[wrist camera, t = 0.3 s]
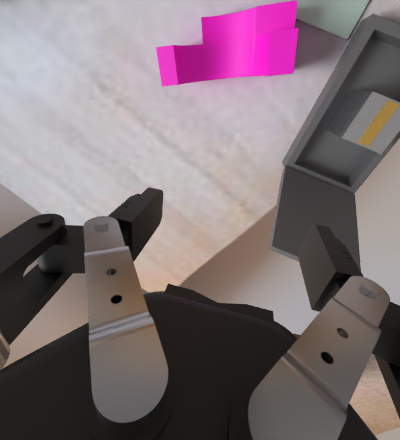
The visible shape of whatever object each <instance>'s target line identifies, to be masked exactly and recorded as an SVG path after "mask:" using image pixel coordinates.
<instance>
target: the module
mask: <svg viewBox="0 0 400 440" xmlns="http://www.w3.org/2000/svg"><path fill="white" fill-rule="evenodd" d="M326 130H328V131H330V132H332V133H334V134H335V135H337V136H339V137H341V138H343V139H346V140H348V141H350V142H353V143H355V144H358V145H360V146H362V147H365V148H367V149H370V150H372V151H375V152H377V153H379V154H382V152H383V151H384V150H385V149H386V147H387V146H388V145H389V144H390V142H391V141H392V140H393V139H394V137H395V136H396V135H397V134H398V133H399V131H400V102H398V101H395V100H393V99H390V98H388V97H385V96H383V95H381V94H378V93H376V92H373V91H349V92H348V93H347V95H346V97H345V98H344V100H343V101H342V103H341V105H340V106H339V108H338V109H337V111H336V113H335V114H334V116H333V117H332V119H331V121H330V122H329V124H328V125H327V127H326Z"/></svg>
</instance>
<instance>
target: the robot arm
mask: <svg viewBox="0 0 400 440" xmlns="http://www.w3.org/2000/svg"><path fill="white" fill-rule="evenodd" d="M162 206H163V191H162V190H159V189H154V188H150V187H149V188H147V189H146V190H145V191H144V192H143V193H142V194H136V195H134V196H131V197H129V198H128V199H127V200H126V201H125V202H124V203H122V204H121V206H119V207H118V208H117V209H116V210H114V211H113V212H112V213H111V214H110V215H109V216H108V217H107V216H100V217H95V218H92V219H90V220H88V221H87V222H85V224H84V226H72V225H65V220H64V218H63V217H62V216H60V215H57V214H43V215H38V216H35V217H33V218H31V219H29V220H28V221H26V222H24V223H23V224H21V225H20V226H18V227H17V228H15V229H14V230H12V231H10V232H9V233H7V234H6V235H4V236H3V237H1V238H0V440H377V438H376V437H375V436H374V434H373V433H372V432H371V430H370V429H369V428H368V427H367V425H366V424H365V423H364V422H363V420H362V419H361V418H360V416H359V415H358V414H357V413H356V411H355V410H354V409H353V408H352V406H351V405H350V404H349V402H350V400H351V397H352V395H353V393H354V391H355V389H356V386H357V384H358V382H359V380H360V378H361V375H362V373H363V371H364V369H365V367H366V364H367V362H368V360H369V358H370V356H371V353H372V354H374V355H375V357H376V360H377V362H378V365H379V367H380V370H381V373H382V375H383V378H384V380H385V383H386V385H387V388H388V390H389V393H390V395H391V398H392V400H393V403H394V406H395V408H396V411H397V413H398V416H399V418H400V306H399V305H397V304H394V303H392V302H390V297H389V295H388V294H387V292H386V291H385V290H384V289H383V288H382V287H381V286H379V285H378V284H377V283H375V282H373V281H372V280H369V279H367V278H365V277H363V275H362V273H361V271H360V270H359V268H358V266H357V264H356V263H355V261H354V260H353V257H352V256H351V254H350V252H349V251H348V249H347V247H346V246H345V245H344V244H343V243H342V242H341V241H340V240H339V239H338V238H335V236H334V234H333V233H332V231H331V229H330V227H327V226H323V225H318V224H312V225H311V226H310V228H309V230H308V232H307V234H306V236H305V238H304V240H303V242H302V244H301V246H300V249H299V254H298V258H299V262H300V266H301V270H302V274H303V278H304V281H305V286H306V289H307V293H308V297H309V301H310V305H311V308H312V310H316V311H320V313H319V314H318V315H317V316H316V318H315V319H314V320H313V321H312V323H311V324H310V325H309V326H308V327H307V329H306V330H305V331H304V332H303V333H302V335H301V336H300V337H299V338H298V339H297V338H296V337H295V336H294V335H293V334H292V333H291V332H290V331H289V330H287V329H286V328H285V327H283V326H282V325H280V324H279V323H277V322H275V321H274V319H273V311H270V310H266V309H262V308H258V307H254V306H251V305H247V304H227V303H217V302H215V301H213V300H211V299H209V298H207V297H205V296H203V295H201V294H199V293H197V292H195V291H193V290H190V289H186V288H182V287H179V286H175V285H171V284H168V285H167V288H166V290H165V291H159V292H151V293H146V294H143V292H142V289H141V286H140V283H139V279H138V276H137V273H136V270H135V266H134V263H133V262H134V261H135V259H136V258H137V256H138V255H139V253H140V252H141V251H142V249H143V248H144V246H145V245H146V243H147V242H148V240H149V239H150V238H151V236H152V235H153V233H154V232H155V230H156V229H157V227H158V226H159V224H160V222H161V218H162ZM35 260H37V263H38V264H37V265H36V266H35V267H34V268H33V269H31V270H30V271H29V272H28V273H27V274H26V275H25V276H24V277H23V274H24V272H25V270H26V268H27V267H28V266H29V265H30V264H31V263H33V262H34V261H35ZM73 273H85V275H86V289H87V305H88V319H89V322H88V323H87V324H85V325H83V326H81V327H79V328H77V329H75V330H73V331H72V332H70V333H68V334H66V335H64V336H62V337H60V338H58V339H57V340H55V341H53V342H51V343H49V344H47V345H45V346H43V347H42V348H40V349H38V350H36V351H34V352H33V353H30V354H29V355H27V356H25V357H23V358H21V359H19V360H17V361H15V362H14V363H12V364H10V365H8V366H7V367H5V368H3V366H4V365H5V363H6V362H7V359H8V358H9V355H10V346H9V345H10V344H11V343H12V342H13V341H14V340H15V338H16V337H17V336H18V335H19V334H20V333H21V332H22V331H23V329H24V328H25V327H26V326H27V325H28V324H29V322H30V321H31V320H32V319H33V318H34V317H35V315H37V313H38V312H39V311H40V310H41V309H42V308H43V307H44V305H45V304H46V303H47V302H48V301H49V300H50V299H51V298H52V296H53V295H54V294H55V293H56V292H57V291H58V290H59V289H60V287H61V286H62V285H63V284H64V283H65V281H66V280H67V279H68V278H69V277H70V276H71V275H72V274H73ZM2 368H3V369H2Z"/></svg>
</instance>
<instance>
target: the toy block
mask: <svg viewBox="0 0 400 440" xmlns="http://www.w3.org/2000/svg"><path fill="white" fill-rule="evenodd" d="M297 2H298V0H295V1H289V2H283V3H277V4H270V5H264V6H258V7H255V8H252V9H248V10H245V11H241V12H237V13H232V14H226V15H220V16H212V17H201V19H202V34H203V45H189V46H177V45H171V46H164V47H157V48H156V50H157V56H158V63H159V69H160V75H161V81H162V86H169V85H179V84H184V83H190V82H198V81H206V80H214V79H224V78H234V77H246V76H270V75H281V74H291V73H293V72H294V63H295V55H296V46H297V38H298V29H299V28H295V20H296V11H297Z"/></svg>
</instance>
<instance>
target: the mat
mask: <svg viewBox="0 0 400 440" xmlns="http://www.w3.org/2000/svg"><path fill="white" fill-rule="evenodd" d="M292 1H295V0H292ZM368 2H369V0H298V2H297V11H296V19H297V20H299V21H301V22H304V23H306V24H309V25H311V26H314V27H316V28H318V29H321V30H323V31H326V32H328V33H330V34H333V35H335V36H338V37H340V38H342V39H345V40H347V39H348V38H349V36H350V34H351V32H352V30H353V29H354V27H355V25H356V23H357V21H358V20H359V18H360V16H361V14H362V12H363V11H364V9H365V7H366V5H367V3H368Z"/></svg>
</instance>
